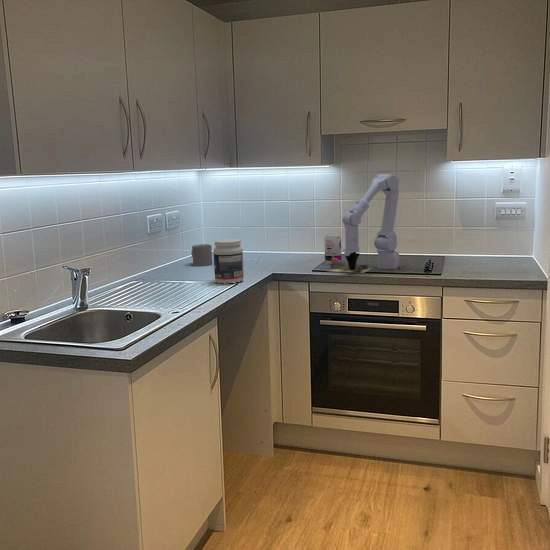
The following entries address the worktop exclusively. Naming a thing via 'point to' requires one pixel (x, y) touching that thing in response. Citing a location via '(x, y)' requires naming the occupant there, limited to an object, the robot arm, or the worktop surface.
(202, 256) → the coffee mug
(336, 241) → the supplement can
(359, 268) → the bar
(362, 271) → the board
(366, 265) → the tongs body
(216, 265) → the supplement tub
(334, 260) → the tab
